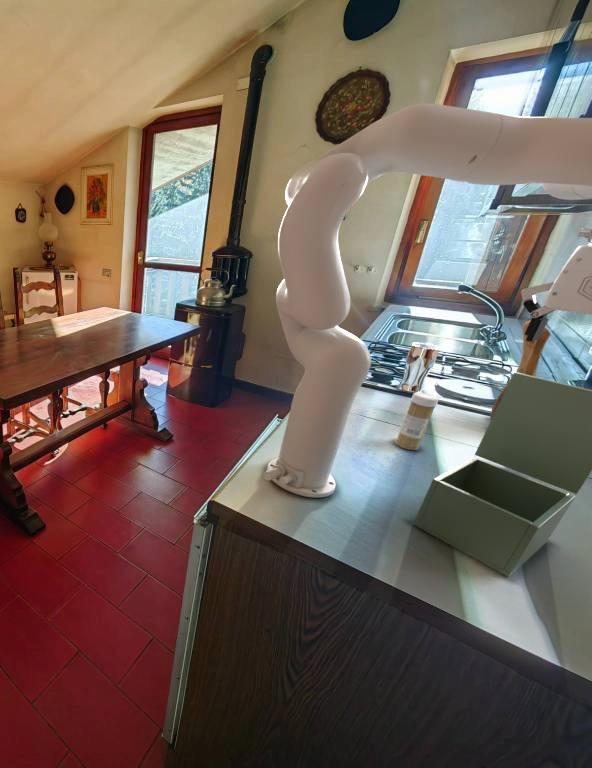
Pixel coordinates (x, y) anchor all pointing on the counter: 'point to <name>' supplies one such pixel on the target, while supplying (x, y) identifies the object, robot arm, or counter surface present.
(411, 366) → the beer glass
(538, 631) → the counter surface
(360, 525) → the counter surface
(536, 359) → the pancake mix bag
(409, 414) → the sprinkles bottle
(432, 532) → the green box
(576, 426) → the lid
